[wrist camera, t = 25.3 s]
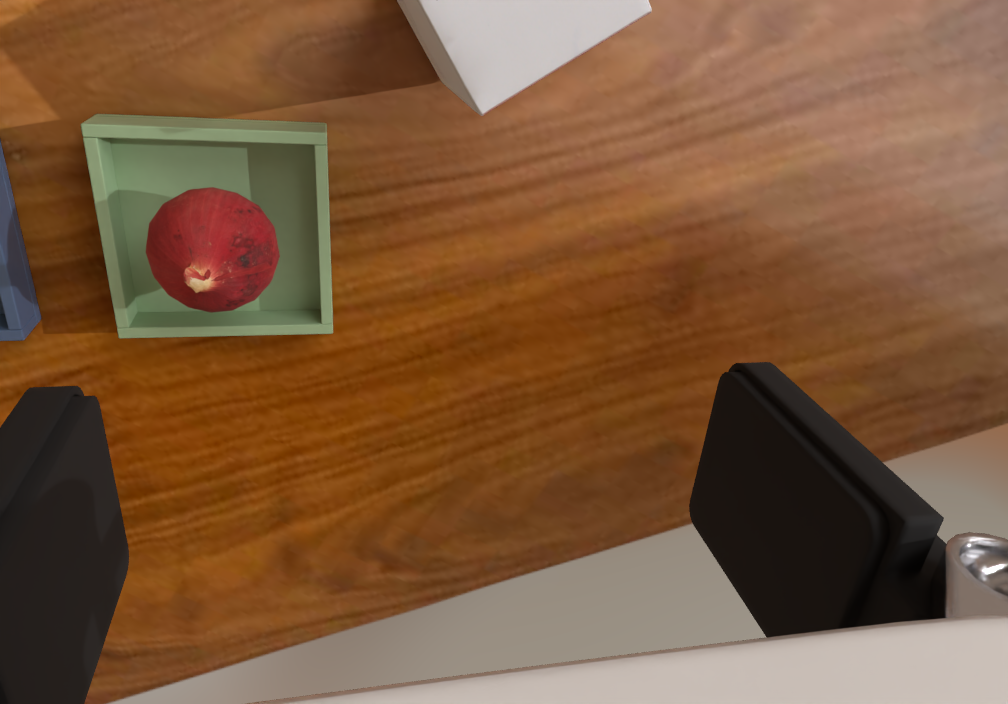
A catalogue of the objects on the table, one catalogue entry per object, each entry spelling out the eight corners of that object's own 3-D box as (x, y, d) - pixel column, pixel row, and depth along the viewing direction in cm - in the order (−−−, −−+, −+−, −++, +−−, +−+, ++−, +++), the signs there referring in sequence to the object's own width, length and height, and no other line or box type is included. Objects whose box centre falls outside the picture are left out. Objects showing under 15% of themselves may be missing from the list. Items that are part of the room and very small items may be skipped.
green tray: (95, 113, 35) (79, 123, 33) (326, 122, 37) (326, 132, 35) (130, 317, 40) (118, 338, 38) (332, 314, 42) (332, 334, 40)
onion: (270, 164, 37) (257, 211, 30) (292, 270, 40) (284, 335, 33) (149, 176, 36) (107, 227, 29) (179, 284, 39) (147, 353, 32)
